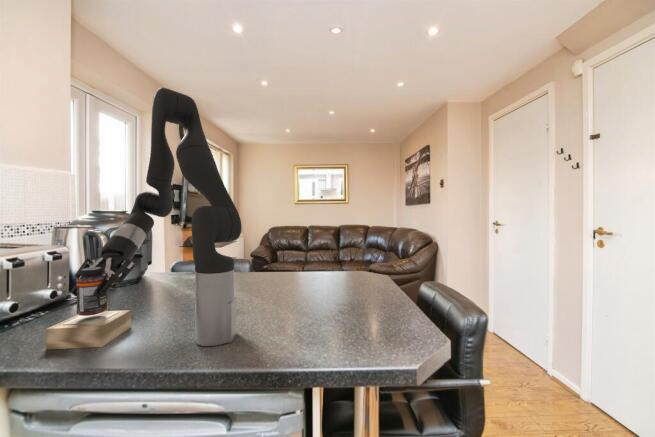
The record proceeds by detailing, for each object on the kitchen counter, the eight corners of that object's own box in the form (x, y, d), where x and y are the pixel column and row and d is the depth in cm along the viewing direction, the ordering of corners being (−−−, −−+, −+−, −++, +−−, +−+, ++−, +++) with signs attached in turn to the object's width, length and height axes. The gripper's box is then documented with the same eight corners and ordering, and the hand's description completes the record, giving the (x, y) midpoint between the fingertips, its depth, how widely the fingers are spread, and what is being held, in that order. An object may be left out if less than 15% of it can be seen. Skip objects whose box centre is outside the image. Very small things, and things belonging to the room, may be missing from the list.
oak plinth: (130, 327, 81) (130, 309, 81) (102, 346, 69) (102, 325, 69) (83, 329, 80) (83, 311, 79) (46, 349, 68) (46, 327, 68)
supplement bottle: (83, 310, 76) (82, 267, 76) (110, 307, 78) (109, 265, 78) (72, 318, 70) (71, 271, 70) (102, 314, 73) (101, 269, 72)
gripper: (94, 234, 83) (49, 286, 71) (139, 234, 80) (100, 288, 69) (111, 250, 88) (71, 301, 76) (154, 251, 86) (120, 304, 74)
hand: (85, 295), depth 73 cm, fingers closed on supplement bottle, 6 cm apart
